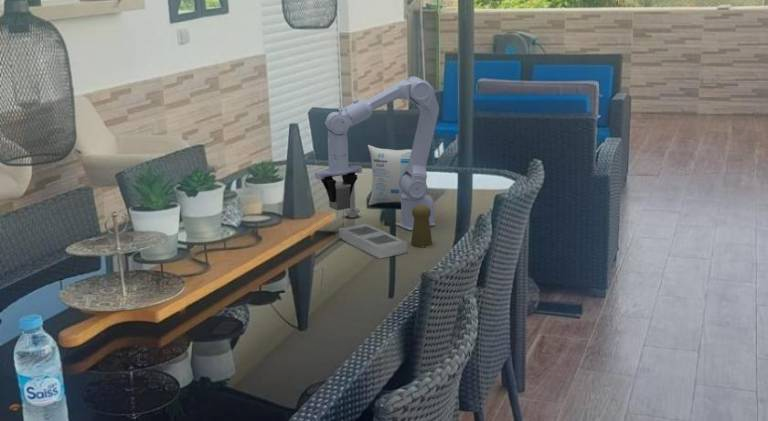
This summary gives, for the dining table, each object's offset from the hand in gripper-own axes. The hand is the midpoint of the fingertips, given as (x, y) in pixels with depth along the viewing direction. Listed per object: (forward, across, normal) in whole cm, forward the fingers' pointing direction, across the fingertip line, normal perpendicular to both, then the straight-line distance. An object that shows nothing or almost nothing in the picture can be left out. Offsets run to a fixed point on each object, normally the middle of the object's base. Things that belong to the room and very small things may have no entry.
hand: (339, 200), depth 265 cm
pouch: (+10, -29, -14) cm, 34 cm away
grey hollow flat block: (+10, -1, +16) cm, 19 cm away
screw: (+10, -11, -12) cm, 19 cm away
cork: (+10, -13, +23) cm, 28 cm away
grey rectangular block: (+2, 0, 0) cm, 2 cm away
